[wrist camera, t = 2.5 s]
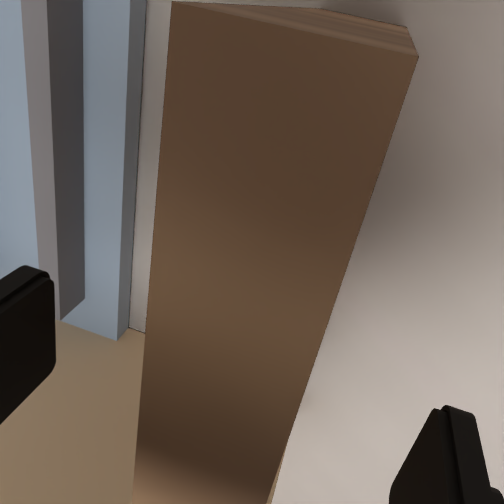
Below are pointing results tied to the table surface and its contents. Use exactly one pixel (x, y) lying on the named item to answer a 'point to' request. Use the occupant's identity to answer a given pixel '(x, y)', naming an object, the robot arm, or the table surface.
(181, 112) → the door
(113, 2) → the cabinet side
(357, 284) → the table surface
